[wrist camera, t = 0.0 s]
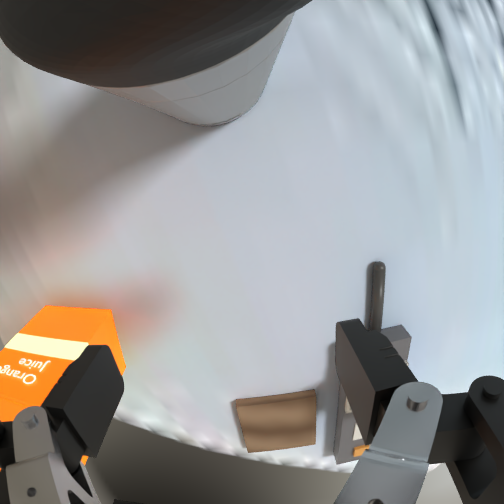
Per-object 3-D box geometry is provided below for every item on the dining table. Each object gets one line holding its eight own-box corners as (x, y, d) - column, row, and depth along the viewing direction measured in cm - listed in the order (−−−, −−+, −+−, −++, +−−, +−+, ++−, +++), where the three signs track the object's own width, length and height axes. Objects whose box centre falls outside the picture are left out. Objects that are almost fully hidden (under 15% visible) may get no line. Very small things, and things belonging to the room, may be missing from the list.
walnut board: (236, 399, 33) (236, 406, 32) (314, 389, 33) (316, 396, 32) (247, 446, 36) (247, 452, 35) (313, 437, 36) (315, 444, 35)
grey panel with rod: (342, 264, 28) (353, 278, 25) (408, 254, 28) (423, 266, 25) (333, 451, 38) (337, 467, 35) (377, 441, 37) (383, 455, 35)
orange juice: (44, 304, 28) (-63, 425, 9) (111, 308, 29) (12, 468, 10) (63, 360, 31) (-11, 485, 12) (127, 368, 31) (67, 521, 12)
